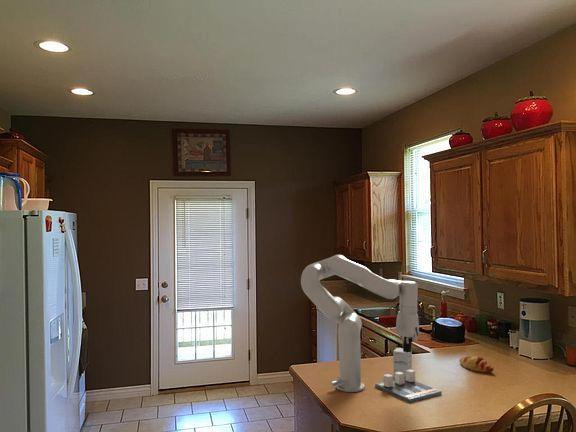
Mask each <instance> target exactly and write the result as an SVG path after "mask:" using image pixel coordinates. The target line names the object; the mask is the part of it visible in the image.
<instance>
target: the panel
mask: <svg viewBox="0 0 576 432" xmlns="http://www.w3.org/2000/svg"><path fill="white" fill-rule="evenodd" d="M374 387H375V388H376V389H379V390H381V391H383V392H386V393H387V394H390V395H392V396H393V397H397V398H399V399H400V400H402V401H405V402H407V403H410V404H411V403H415V402H418V401H423V400H426V399H430V398H434V397H437V396H442V390H440V389H438V388H435V387H433V386H429V385H428V384H427V385H426V384H424V383H422V382H420V381H416V380H415V381H413V382H409V381H406V377H404V384H400V385H399V384H397V383H395V378H393V386H392V387H386V386H384V385H383V381H381V382H376V383H375V384H374Z"/></svg>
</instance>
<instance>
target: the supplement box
mask: <svg viewBox="0 0 576 432" xmlns="http://www.w3.org/2000/svg"><path fill="white" fill-rule="evenodd" d="M412 350H413V349H412V348H411V352H407V353H406V352H403V347H402V348H401V347H396V348H395V349H394V350H393V351H392V352H393V355H392V357H393V378H395V372H402V373H404V377H406V370H410V369H411V370H413V367H412V366H413V365H412V362H413V361H412V360H413V358H412V357H413V355H412V353H413V351H412Z"/></svg>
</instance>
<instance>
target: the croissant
mask: <svg viewBox="0 0 576 432" xmlns="http://www.w3.org/2000/svg"><path fill="white" fill-rule="evenodd" d="M459 363H460V365H461V366H462V367H464V368H465V369H467V370H470V371H473V370H474V371H473V372H480V373H485V374H486V373H491V372H494V367H492V366H491V365H490V364H488V361H486V360H484V358H483V357H482V356H478V355H476V356H466V357H461V358H460V359H459Z"/></svg>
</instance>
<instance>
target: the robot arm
mask: <svg viewBox="0 0 576 432" xmlns="http://www.w3.org/2000/svg"><path fill="white" fill-rule="evenodd" d="M332 276H338V277H340V278H343V279H345V280H347V281H350V282H352V283H354V284H356V285H358V286H360V287H362V288H363V289H366V290H368V291H369V292H372V293H373V294H375V295H378V296H380V297H383V298H385V299H388V300H393V299H396V298H397V297H398V296H399V306H398V308H399V311H397V316H396V320H395V321H396V322H395V323H396V324H395V333H396V334H397V335H398V337H400V338H401V341H402V343H403V345H402V348H403V352H406V353H407V352H411V349H412V344H413V342H414V341H415V342H416V341H418V337H419V334H420V321H419V315H418V298H419V297H418V296H419V295H418V290H419V289H418V288H419V286H418V283H417V281H412V280H397V279H391V278H390V279H386V278H384V277H382V276H379V275H378V274H376V273H374V272H372V271H371V270H370V269H369V268H367V267H366V266H364V265H362V264H359V263H358V262H357V263H356V262H355V261H352V260H350V259H348V258H347V257H345V256H344V255H342V254H335V255H333V256H330V257H327V258H324V259H322V260H319V261H316V262H313V263H310V264H309V265H307V266H305V268H304V269H303V271H302V273H301V276H300V285H301V289H302V291H303V293H304V294H305V295H306V296H307V297H308V299H309V300H310V301H311V302H312V303H313V304H314V306H316V308H317V309H318V310H320V312H321V313H322V314H323V315H324V317H326V318H327V319H328V320H331V321H335V322H336V323H337V324H338V328H337V332H338V348H339V349H338V359H339V377H337V379H336V380H333V381H331V382H330V386H331V387H334V386H336V387H335V388H336V389H337V390H339V391H342V392H346V393H359V392H362V391H364V390H365V386H366V385H365V384H364V383H363V382H362V362H361V361H362V357H361V355H362V354H361V329H362V325H363V323H362V319H361V317H360V316H359V315H358V314H357V313H356V311H355V310H354V309H353V308H352V307H351V306H350V305H349V304H348V303H347V302H346V301H345V300H344V299H342V298H341V297H340V296H333V295H332V294H331V293H330V292H329V290H327V289H326V288H325V287H324V286H323V285H322V284H321V282H320V281H321V280H323V279H326V278H329V277H332Z"/></svg>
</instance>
